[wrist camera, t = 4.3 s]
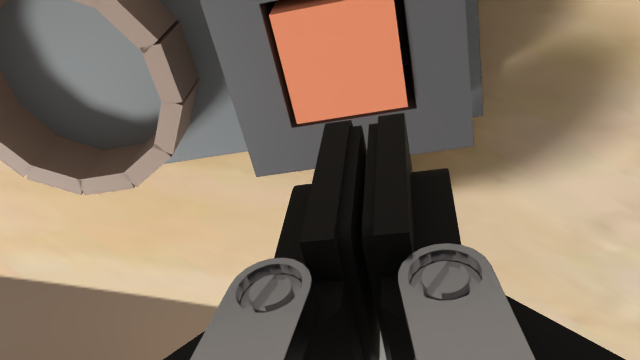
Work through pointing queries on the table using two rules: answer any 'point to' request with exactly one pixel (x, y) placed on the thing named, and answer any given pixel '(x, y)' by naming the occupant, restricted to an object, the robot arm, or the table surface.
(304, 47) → the switch button
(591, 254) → the table surface
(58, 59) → the panel
